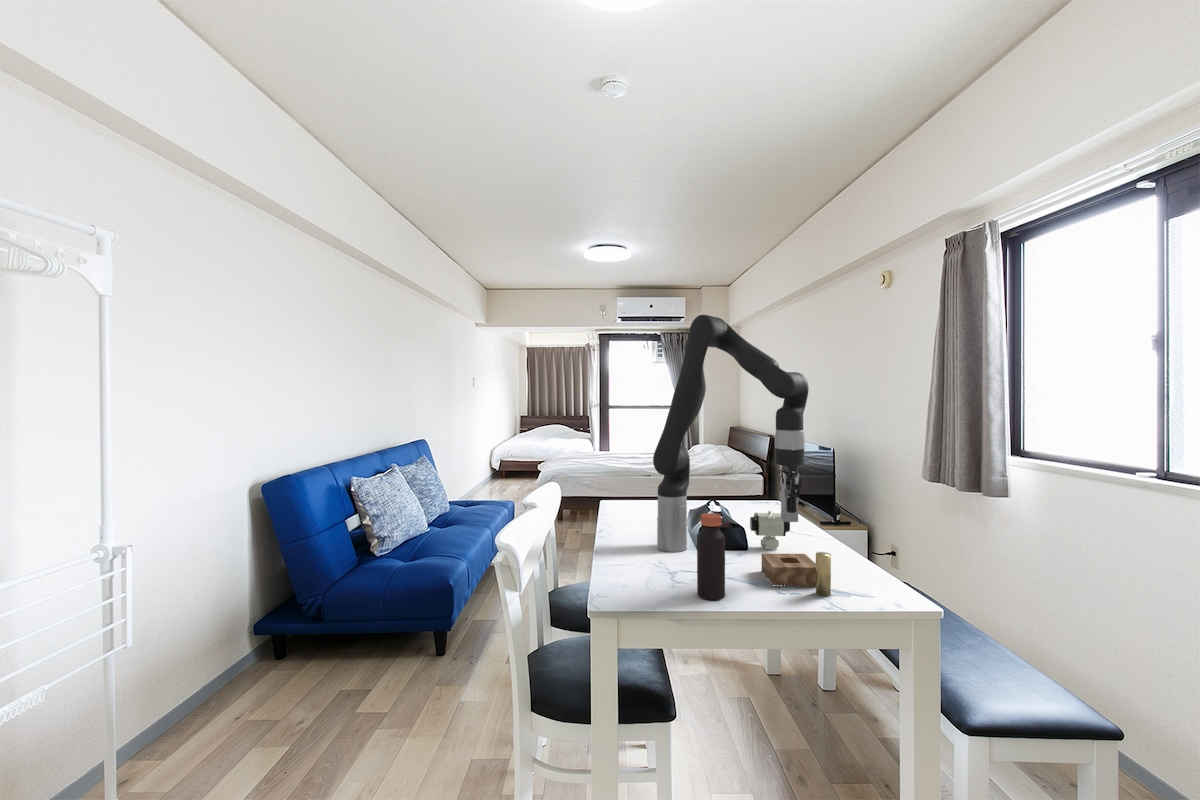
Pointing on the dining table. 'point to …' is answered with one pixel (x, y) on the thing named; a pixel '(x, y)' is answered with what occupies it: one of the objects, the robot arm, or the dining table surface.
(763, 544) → the pneumatic valve
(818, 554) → the cylinder
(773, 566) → the socket block
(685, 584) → the dining table surface
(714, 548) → the bottle
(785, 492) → the square bit
